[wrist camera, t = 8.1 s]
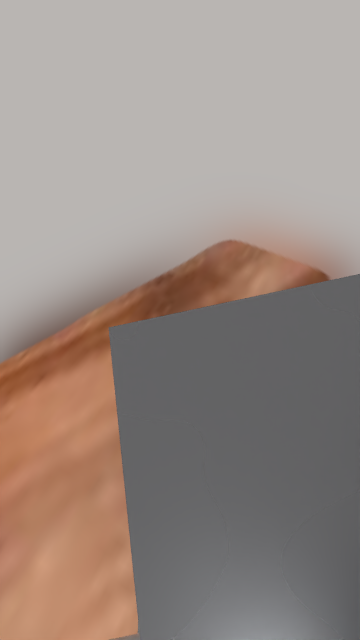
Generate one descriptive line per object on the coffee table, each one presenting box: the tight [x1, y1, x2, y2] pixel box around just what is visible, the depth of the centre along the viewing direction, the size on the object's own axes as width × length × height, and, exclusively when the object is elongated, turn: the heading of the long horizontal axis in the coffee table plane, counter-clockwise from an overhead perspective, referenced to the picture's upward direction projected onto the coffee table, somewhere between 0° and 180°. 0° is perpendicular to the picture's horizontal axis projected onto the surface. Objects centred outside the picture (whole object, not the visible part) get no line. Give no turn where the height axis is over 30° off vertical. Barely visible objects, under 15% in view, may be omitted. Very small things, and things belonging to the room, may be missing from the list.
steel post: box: [109, 274, 360, 640], centre depth 13 cm, size 5×5×24 cm
